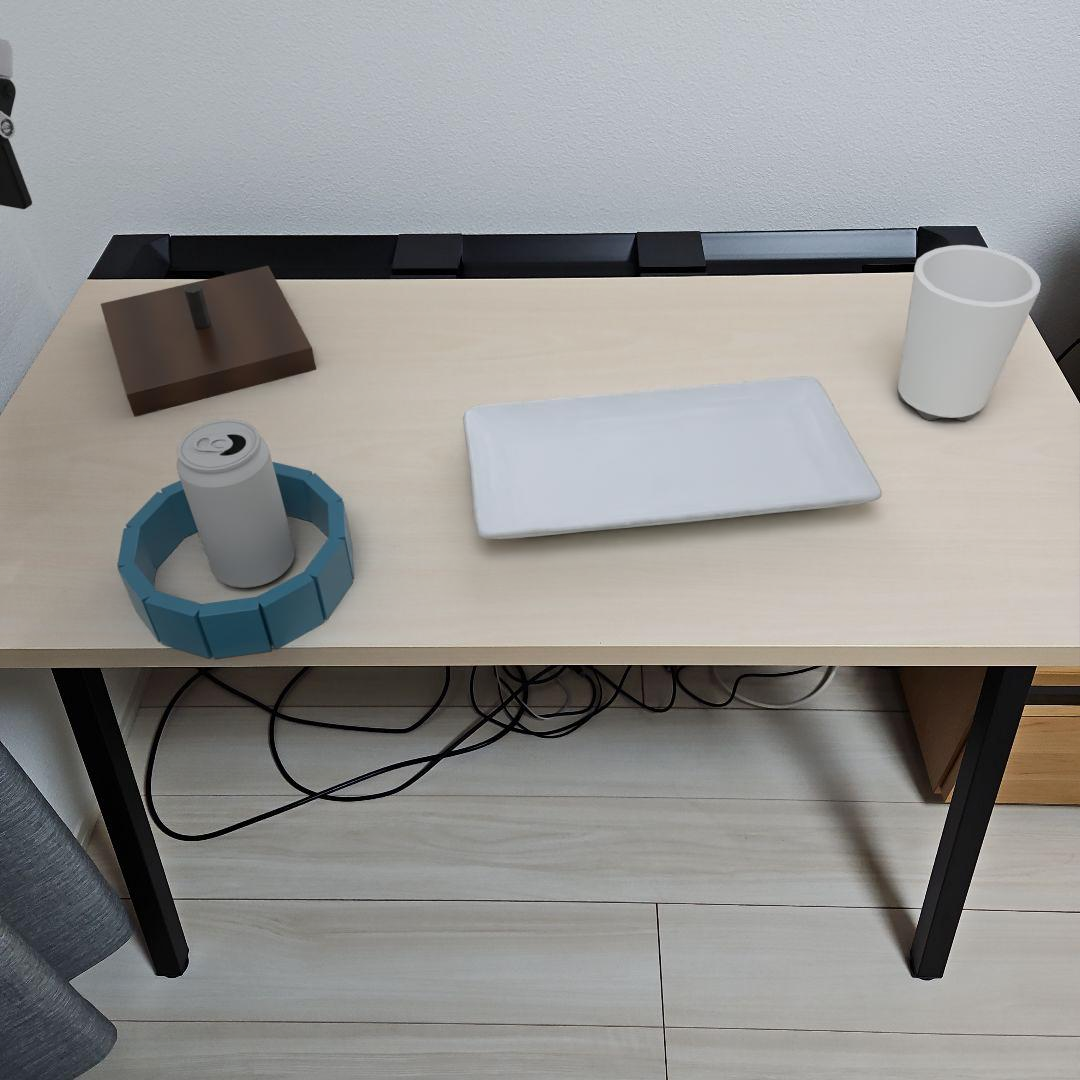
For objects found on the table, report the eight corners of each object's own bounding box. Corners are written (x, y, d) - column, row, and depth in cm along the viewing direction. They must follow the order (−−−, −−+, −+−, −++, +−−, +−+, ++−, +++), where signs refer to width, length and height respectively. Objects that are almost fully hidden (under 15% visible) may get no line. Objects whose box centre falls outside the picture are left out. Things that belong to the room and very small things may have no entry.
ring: (154, 690, 72) (136, 648, 69) (118, 539, 83) (101, 497, 80) (384, 613, 77) (377, 570, 74) (322, 480, 88) (312, 437, 85)
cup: (1009, 435, 90) (1057, 306, 82) (893, 433, 91) (928, 304, 82) (981, 369, 98) (1022, 244, 89) (874, 367, 98) (904, 242, 89)
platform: (134, 416, 95) (112, 356, 90) (107, 325, 106) (87, 267, 101) (316, 369, 100) (304, 309, 95) (272, 286, 111) (260, 229, 106)
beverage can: (288, 594, 78) (254, 471, 70) (203, 594, 79) (159, 472, 70) (303, 535, 83) (274, 414, 75) (223, 535, 83) (185, 414, 75)
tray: (463, 434, 92) (460, 402, 90) (811, 402, 94) (818, 370, 92) (479, 570, 80) (476, 537, 77) (878, 529, 82) (887, 496, 80)
